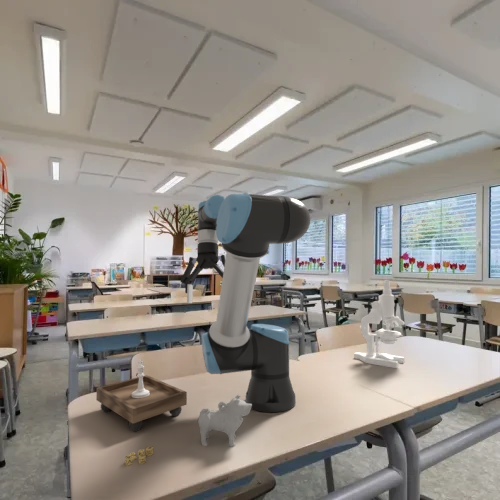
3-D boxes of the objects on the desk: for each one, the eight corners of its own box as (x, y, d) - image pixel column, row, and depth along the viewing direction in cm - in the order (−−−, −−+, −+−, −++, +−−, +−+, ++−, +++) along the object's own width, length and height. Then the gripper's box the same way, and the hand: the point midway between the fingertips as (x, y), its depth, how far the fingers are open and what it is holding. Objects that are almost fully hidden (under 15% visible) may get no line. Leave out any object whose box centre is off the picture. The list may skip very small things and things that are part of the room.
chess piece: (153, 392, 101) (153, 357, 101) (143, 399, 96) (143, 362, 97) (138, 391, 102) (138, 356, 103) (127, 397, 98) (128, 361, 98)
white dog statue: (251, 447, 80) (251, 400, 80) (196, 446, 81) (196, 400, 81) (252, 436, 85) (252, 392, 86) (200, 435, 86) (200, 391, 86)
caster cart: (186, 415, 97) (186, 391, 97) (132, 436, 86) (132, 409, 86) (146, 395, 112) (146, 375, 113) (96, 410, 101) (96, 387, 101)
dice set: (153, 454, 78) (153, 445, 78) (147, 468, 73) (147, 458, 73) (131, 455, 78) (131, 446, 78) (123, 468, 73) (123, 459, 73)
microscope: (376, 369, 138) (374, 281, 139) (351, 357, 157) (350, 279, 158) (415, 366, 142) (413, 280, 143) (386, 354, 161) (384, 278, 162)
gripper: (243, 242, 127) (244, 301, 122) (182, 248, 134) (180, 303, 130) (236, 238, 120) (236, 300, 115) (172, 244, 127) (170, 302, 123)
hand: (207, 302), depth 122 cm, fingers open, 13 cm apart
